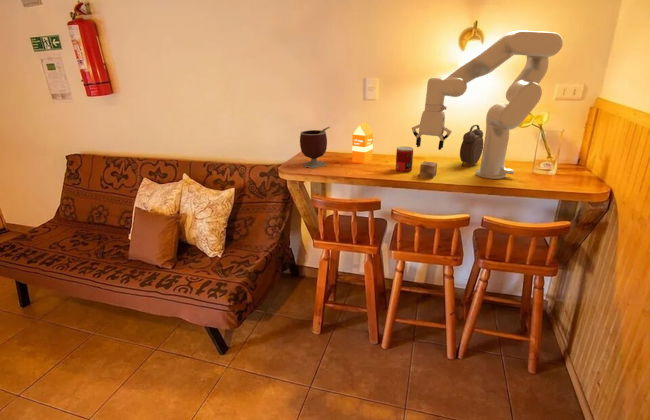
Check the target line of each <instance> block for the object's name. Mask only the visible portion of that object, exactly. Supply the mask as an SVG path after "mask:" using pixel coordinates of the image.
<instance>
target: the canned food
mask: <svg viewBox="0 0 650 420" xmlns="http://www.w3.org/2000/svg"><path fill="white" fill-rule="evenodd" d="M395 157H396V158H395V171H397V172H399V173H411V172H412V170H413V162H414V161H413V159H414V147H411V146H398V147H396V156H395Z"/></svg>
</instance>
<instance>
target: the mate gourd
mask: <svg viewBox="0 0 650 420" xmlns="http://www.w3.org/2000/svg"><path fill="white" fill-rule="evenodd" d="M328 129H330V126H328V127H325V128H323V129H321V130H320V129H310V130H303V131H301V132H300V136H299V147H300V150H301V151H300V152H301V153H302V154H303V156H305V157H307V158H309V159H311V160H310V161H309V160H308V161H305V162H303V163H302V167H303V166H304V167H303V168H306V167H309V168H308V169H318V168H317V167H321V168H323V166H324V167H325V165H326V166H327V162H325V161H322V160H318V158H320V157H323V156H324V154H325V153H326V152H327V148H328V138H327V132H326V130H328Z"/></svg>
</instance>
